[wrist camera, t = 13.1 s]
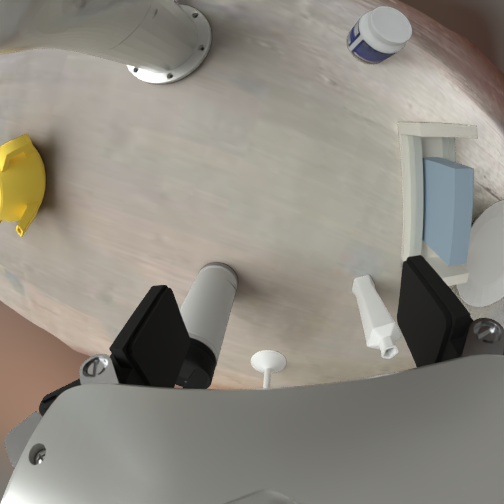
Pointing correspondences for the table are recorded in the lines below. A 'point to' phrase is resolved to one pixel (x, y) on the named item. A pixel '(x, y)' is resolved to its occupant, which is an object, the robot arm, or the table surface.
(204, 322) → the travel mug
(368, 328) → the perfume bottle
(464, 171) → the door panel
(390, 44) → the pill bottle
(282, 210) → the table surface
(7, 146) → the teapot
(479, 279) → the plate
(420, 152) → the track frame
